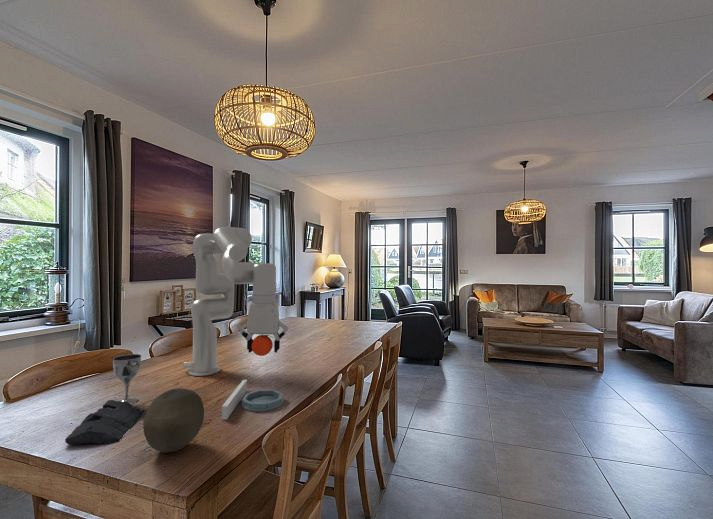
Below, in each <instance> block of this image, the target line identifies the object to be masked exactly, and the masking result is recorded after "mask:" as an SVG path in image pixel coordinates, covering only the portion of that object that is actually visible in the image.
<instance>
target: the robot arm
mask: <svg viewBox="0 0 713 519" xmlns="http://www.w3.org/2000/svg"><path fill="white" fill-rule="evenodd" d="M251 245H252V235H251V233H250V231H249V230H247V229H246V228H244V227H243V228H242V227H235V226H234V227H233V226H221V227H219V228H217V229H216V230H215V231H214V233H210V232H209V233H207V232H206V233H200V234H197V235H196V236H195V237H194V239H193V242H192V249H193V250H192V252H193V256H194V259H195V264H196V265H195V266H196V268H195V291H196V293H197V294H198V295H201V296H215V295H217V296H219V295H220V297H207V298H206V297H205V298H204V297H203V298H199V299H196V300H194V301H193V302H192V303H191V307H190V313H191V320H192V361H184V362H183V363H182V366H183V368H189V369H188V371H187V372H188V375H190V376H195V377H204V376H212V375H214V374H217V373H219V372H220V371H221V367H220V366H219V365H218V364H217V356H218V355H217V354H218V353H217V352H218V351H217V348H218V344H217V343H218V341H217V340H218V338H217V337H218V329H217V327H216V326H215V324H214V323H213V322H212V321H214V320H221V319H222V320H223V319H228V318H229V319H230V318H231V317H232V315H233V314H234V308H235V285H244V284H245V285H247V284H252V295H249V296H247V297H248V298H247V299H248V301H251V303H250V304H249V307H248V314H247V321H246V322H245V323H243V324H242V325H240V326H238V328H237V330H238V331H239V333H241V336H243V338H245V340H246V350H247V351H248V353H249V354H250V353H252V352H253V351H252V347H251V345H252V341H253V340H254V338H253V336H254V335H273V338H274V345H273V347H274V350H273V352H274V353H276V354H277V353H278V351H279V350H280V349H281V348H280V346H281V344H280V342H281V339H282V338H283V337H284V336H285V335H286V334H287V332H288V331H289V329H290V327H289V326H287V324H285V323H284V322H282V321H280V313H279V305H278V303H276V300H277V299H276V296H277V294H276V292H277V291H276V290H277V286H276V285H277V267H276V266H277V265H275V264H274V263H267V262H266V263H264V262H252V261H249V262H246V261H243V260H244V259H245V258H246V257H247V255H248V251H249V250H248V248H250V246H251ZM215 255H223V256H222V259H221V270H222V272H221V273H219V272H218V260H217V259H216V257H215ZM280 327H281V328H282V331H281V332H279V330H280ZM245 328H246V330H245Z"/></svg>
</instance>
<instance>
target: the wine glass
mask: <svg viewBox="0 0 713 519" xmlns="http://www.w3.org/2000/svg"><path fill="white" fill-rule="evenodd" d="M141 364H142V354H139V353H130V354H123V355H117V356H115V357H113V358H112V367H113V372H114V375H115V377H116V378H117V379H118V380H120V381H121V382H122V383H123V385H124V390H125V391H124V393H125V396H124V398H120V399H121V400H120V399H118V400H117V401H120V402H128V403H133V404H135V403H134V402H136V401H137V400H138V399H139V398H138V397H135V398H133V397H132V396H131V397H132V398H130V397H129V389H130V385H131V382H132V381H133V379H134V378H135V377H136V376H137V375H138V374H139V372H140V369H141V366H142V365H141ZM137 398H138V399H137ZM137 402H138V401H137ZM137 402H136V403H137Z"/></svg>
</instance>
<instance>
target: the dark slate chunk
mask: <svg viewBox="0 0 713 519" xmlns="http://www.w3.org/2000/svg"><path fill="white" fill-rule="evenodd" d="M144 412H145V413H146V411H145V409H141V408H139V407H138V408H136V407H135V406H133V404H130V403H128V402H120V401H118V400H114V399H109V400H107V401H106V402H105V403H104V404H103V405H102V408H98V409H97V411H95V412H93V413H90V414H88V415H87V416H86V417H85V418H84V419H83V421H82V422H80V425H77V426H76V427H75V428H74V429H73V431H71V433H69V435H67V436H66V438H65V439H64V442H65V444H67V445H76V444H77V445H78V444H79V445H80V444H84V445H85V444H95V445H97V444H102V443H104V444H111V443H110V442H114V443H116V442H115V441H117V442H120V441H119V440H120V439H121V438H122V437H123V435H124V434H125V433H126V432H127V431H128V430H129V429H130V430H132V429H131V428H134V426H135V425H136V424H137V423H138V421H139V420H140V419H141V417H142V416H143V415H144V414H145V413H144ZM143 413H144V414H143ZM139 418H140V419H139ZM138 419H139V420H138ZM137 420H138V421H137ZM136 422H137V423H136Z"/></svg>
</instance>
